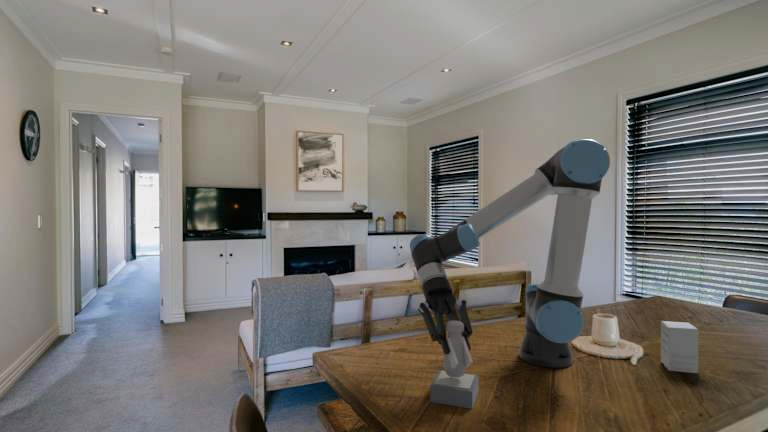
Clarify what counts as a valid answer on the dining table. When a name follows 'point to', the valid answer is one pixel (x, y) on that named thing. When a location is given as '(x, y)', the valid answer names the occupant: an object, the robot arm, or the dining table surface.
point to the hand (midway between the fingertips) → (462, 365)
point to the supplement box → (679, 346)
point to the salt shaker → (455, 349)
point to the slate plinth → (454, 390)
